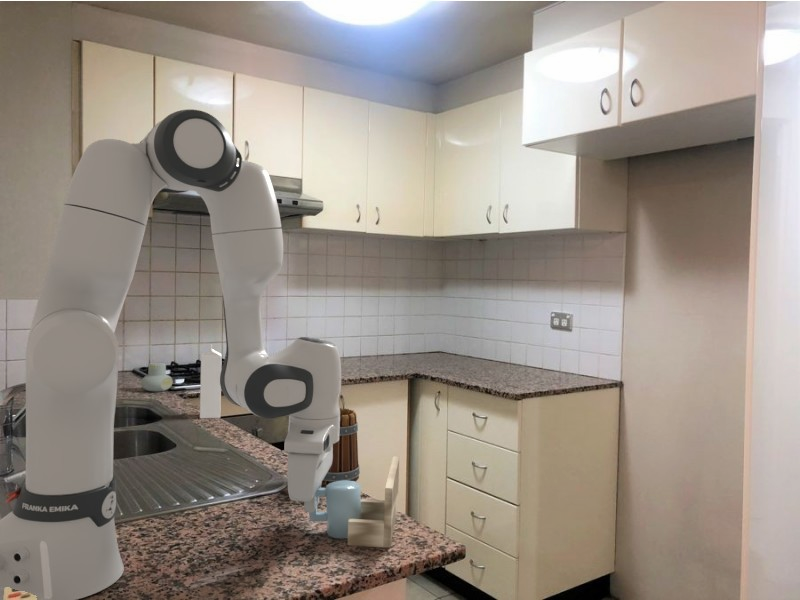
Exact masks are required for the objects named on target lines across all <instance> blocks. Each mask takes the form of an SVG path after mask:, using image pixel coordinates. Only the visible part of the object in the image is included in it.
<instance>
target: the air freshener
mask: <svg viewBox="0 0 800 600" xmlns="http://www.w3.org/2000/svg"><path fill="white" fill-rule="evenodd" d="M147 368H148V372H147V375H145V376H144V377H142V379H141V380H140V386H141V387H142V388H143V390H146V391H147V392H153V393H154V392H155V393H161V392H165V391H167V390H169V389H170V388H171V387H172V385H173V383H174V382H173V378H172V377H171V376H170V375H168V374H167V373H166V372H167V364H166V363H165V362H160V361H159V362H158V361H157V362H155V361H154V362H150V363H148V367H147Z"/></svg>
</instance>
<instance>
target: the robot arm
mask: <svg viewBox="0 0 800 600" xmlns="http://www.w3.org/2000/svg"><path fill="white" fill-rule="evenodd" d="M80 157H81V158H80V159H79V161H78V164H77V166H76V168H75V170H74V172H73V175H72V177H71V180H70V183H69V185H68V189H67V191H66V195H65V197H64V202H63V205H62V208H61V212H60V216H59V221H58V224H57V227H56V232H55V234H54V239H53V243H52V246H51V250H50V254H49V255H50V256H49V258H48V262H47V266H46V269H45V274H44V276H43V281H42V284H41V287H40V291H39V296H38V300H37V303H36V307H35V312H34V315H33V317H32V322H31V326H30V329H29V333H28V338H27V342H26V348H25V483H24V484H22V485H20V486H18V487H17V488H16V489H15V490H14V491H12V492H9V493H8V494H6V495H5V497H8V498H7V499H6V501H5V503H10V502H12V501H14V500H15V499H16V502H15V503H14V506H13V509H12V511H10V512H9V513H8V514H6V515H5V516H3V517H2V518H0V600H3V595H4V588H5V587H10V588H12V589H15V590H20V591H25V592H28V593H31V594H33V595H34V594H35V595H36V596H37V597H36V598H37V600H79V599H83V598H86V597H88V596H89V597H90V596H92V595H94V594H97V593H99V592H102V591H103V590H105V589H107V588H109V587H110V586H112V585H113V584H114V583H116V582H117V581H118V580H119V579H120V578H121V576H122V575H123V574H124V570H125V567H124V566H125V565H124V563H123V561H122V558H121V553H120V549H119V545H118V540H117V532H116V525H115V515H116V510H117V509H116V508H117V479H116V475H115V474H114V433H115V431H114V429H115V427H114V425H115V416H116V415H115V414H116V405H117V404H116V403H117V402H116V401H117V392H118V377H119V361H120V360H119V358H120V346H119V342H118V339H117V336H116V334H115V331H116V330H117V326H118V325H117V324H118V322H119V318H120V316H121V312H122V309H123V307H124V303H125V301H126V298H127V294H128V292H129V289H130V287H131V284H132V281H133V279H134V275H135V272H136V267H137V263H138V259H139V255H140V251H141V248H142V243H143V240H144V237H145V236H144V235H145V233H146V227H147V224H148V219H149V215H150V210H151V206H152V204H153V202H154V199H155V198H156V197H157V195H158V194H159V193H169V194H179V193H186V192H189V191H190V192H196V194H198V195H199V196H200V198H201V199H202V200H203V201H204V203H205V205H206V206H205V207H206V208H207V210H208V211H207V212H208V213H209V218H210V219H209V220H210V221H209V222H210V230H211V234H212V235H211V237H212V245H213V250H214V256H215V260H216V262H215V263H216V267H217V270H218V274H219V280H220V281H219V282H220V286H221V292H222V305H223V306H222V307H223V317H224V331H225V343H226V344H225V345H226V351H225V356H224V360H223V362H222V365H221V374H220V386H221V393H223V396H224V397H225V398H226V400H228V402H230V403H232V404H233V405H235V406H237V407H240V408H243V409H244V410H246V411H248V412H249V413H251V414H253V415H255V416H257V417H259V418H263V419H277V418H281V417H285V416H288V427H287V428H288V429H287V434H286V437H285V439H284V442H283V443H284V446H283V447H284V452H285V453H288V454H287V463H286V468H287V469H286V470H287V492H288V497H289V499H290V501H294V502H304V503H303V504H304V505H303V506H304V509H303V510H304V512H305V513H309V512H311V513H312V512H314V511H315V509H316V500H315V494H316V491H317V489H318V488H322V485H321V484H322V481H323V479H324V477H325V476H326V474H327V472H328V471H329V469H330V467H331V465H332V460H333V444H334V443H336V442H338V441H339V432H340V408H341V407H340V404H339V397H340V393H341V390H342V363H341V355H340V350H339V348H338V347H337V345H336V344H334V343H332V342H331V341H327V340H325V339H324V340H323V339H318V338H315V337H306V336H300V337H297V338H296V339H295V340H294V341H293V342H292V343H290V345H288V346H287V347H285V348H283V349H282V350H280V351H278V352H275V353H273V354H271V355H269V354H268V352H267V351H266V349H265V346H264V341H263V338H264V337H263V325H262V323H263V322H262V311H261V310H262V309H261V305H262V303H261V302H262V298H263V295H264V292H265V290H266V289H267V287H268V286H269V285H270V283H271V282H272V281H274V279H276V277H277V276H278V275H279V273H280V271H281V269H282V268H283V261H284V238H283V236H284V235H283V229H282V222H281V221H282V220H281V215H280V210H279V205H278V201H277V196H276V193H275V190H274V186H273V182H272V180H271V177H270V174H269V173H268V171H267V170H266V169H265V168H264V167H262V166H261V165H259V164H257V163H255V162H252V161H248V160H247V161H246V160H243V157H242V153H241V152H240V151H239V149H238V148H237V146H236V145H235V143H234V142H233V140H232V138H231V136H230V134H229V132H228V131H227V129H226V127H225V126H224V125H223V124H222V122H220V120H218V119H217V118H216V117H215V116H214V115H212V114H210V113H208V112H205V111H202V110H199V109H190V108H189V109H182V110H178V111H174V112H172V113H170V114H169V115H167V116H166V117H164V118H163V119H162V120H161V121H158V122H157V123H156V124H155V125H154V126H153V127H152V128H151V130H150V131H149V132H148V133H146V135H145V136H144V138H143V139H142V140H141V141H139V142H138V143H134V142H132V143H130V142H127V141H125V140H121V139H116V138H115V139H113V138H105V139H99V140H96V141H94V142H92V143H90V144H89V145H88V146H87V147H86V148H85V150H84V151H83V154H82V156H80ZM238 159H239V160H238ZM319 503H320V497H317V506H318V505H319Z"/></svg>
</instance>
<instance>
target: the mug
mask: <svg viewBox="0 0 800 600" xmlns="http://www.w3.org/2000/svg"><path fill="white" fill-rule="evenodd" d="M339 408H340V432H339V441H338V442H336V443H334V444H333V460H332V465H331V467H330V469H329V471H328V472H327V474H326V476H325V477H324V479H323V481H322V484H321V486H324V487H326V486H327V485H328V484H329V483H332V482H336V481H343V480H349V481H355V482H357V481H358V480H359V478H360V464H359V447H358V428H359V427H358V426H359V425H358V421H357V417H358V416H357V413H356V411H355V410H354V409H349V408H345V407H344V408H342V407H339Z"/></svg>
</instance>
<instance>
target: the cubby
mask: <svg viewBox="0 0 800 600" xmlns="http://www.w3.org/2000/svg"><path fill="white" fill-rule="evenodd" d="M390 464H391V465H390V467H389V472H388V476H387V479H386V484H385V487H384V500H383V499H366V498H365V499H364V498H361V519H349V521H348V538H347V546H356V547H372V548H374V547H375V548H389V549H390V548H391V546H392V543H393V536H394V530H395V525H396V519H397V514H398V513H397V512H398V507H399V505H398V504H399V480H400V478H399V477H400V455H399V456H397V455H396V456H395V455H393V456H392V459H391V463H390Z"/></svg>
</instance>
